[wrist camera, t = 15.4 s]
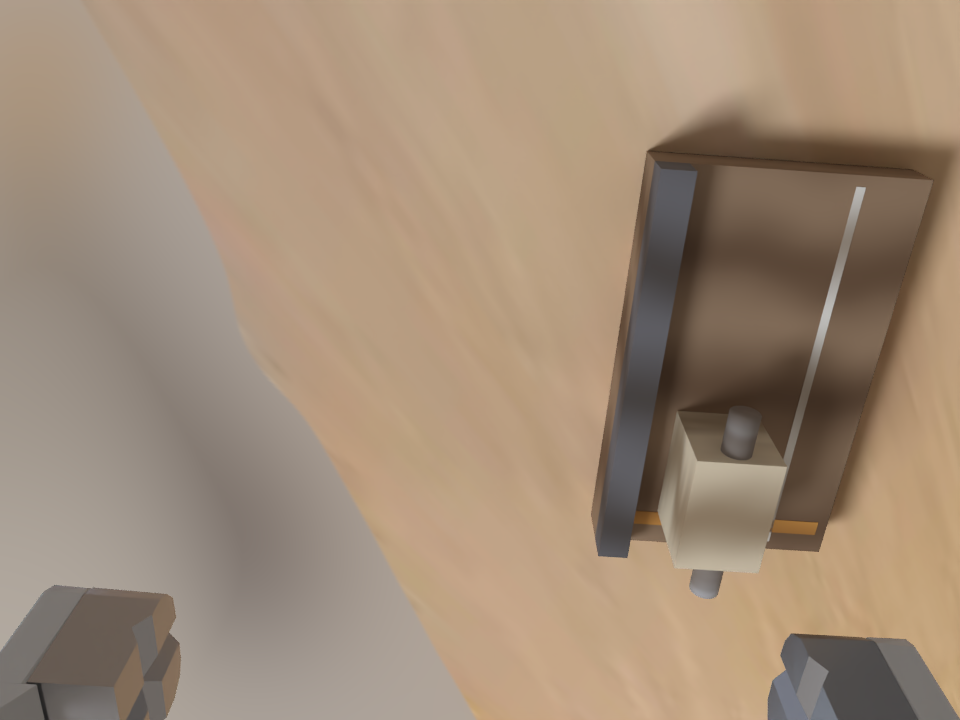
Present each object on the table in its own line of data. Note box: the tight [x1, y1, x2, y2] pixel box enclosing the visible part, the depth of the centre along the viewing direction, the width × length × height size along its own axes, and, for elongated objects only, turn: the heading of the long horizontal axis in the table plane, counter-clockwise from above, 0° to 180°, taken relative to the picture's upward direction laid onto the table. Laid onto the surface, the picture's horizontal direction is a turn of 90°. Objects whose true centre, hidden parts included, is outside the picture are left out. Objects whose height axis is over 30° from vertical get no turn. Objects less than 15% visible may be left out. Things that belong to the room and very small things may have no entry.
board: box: [591, 151, 934, 558], centre depth 40 cm, size 20×12×4 cm, turn 176°
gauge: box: [657, 406, 787, 599], centre depth 40 cm, size 10×4×4 cm, turn 176°
